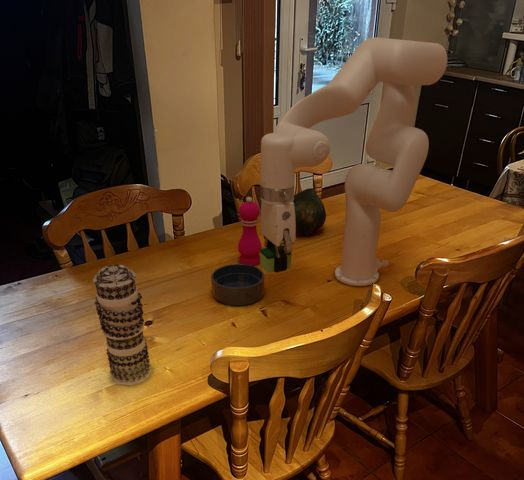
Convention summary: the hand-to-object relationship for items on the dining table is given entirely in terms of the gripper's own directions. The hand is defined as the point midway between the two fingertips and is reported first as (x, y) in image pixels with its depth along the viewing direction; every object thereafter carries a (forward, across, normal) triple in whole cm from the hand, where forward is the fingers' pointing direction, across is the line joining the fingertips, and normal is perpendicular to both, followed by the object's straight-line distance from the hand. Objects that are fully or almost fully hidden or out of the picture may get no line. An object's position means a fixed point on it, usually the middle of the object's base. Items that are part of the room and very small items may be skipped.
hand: (275, 266), depth 130 cm
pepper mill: (+14, +30, -6) cm, 34 cm away
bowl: (+13, +14, +5) cm, 20 cm away
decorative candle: (+14, -10, +40) cm, 43 cm away
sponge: (0, 0, 0) cm, 0 cm away
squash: (+13, +45, -32) cm, 57 cm away
